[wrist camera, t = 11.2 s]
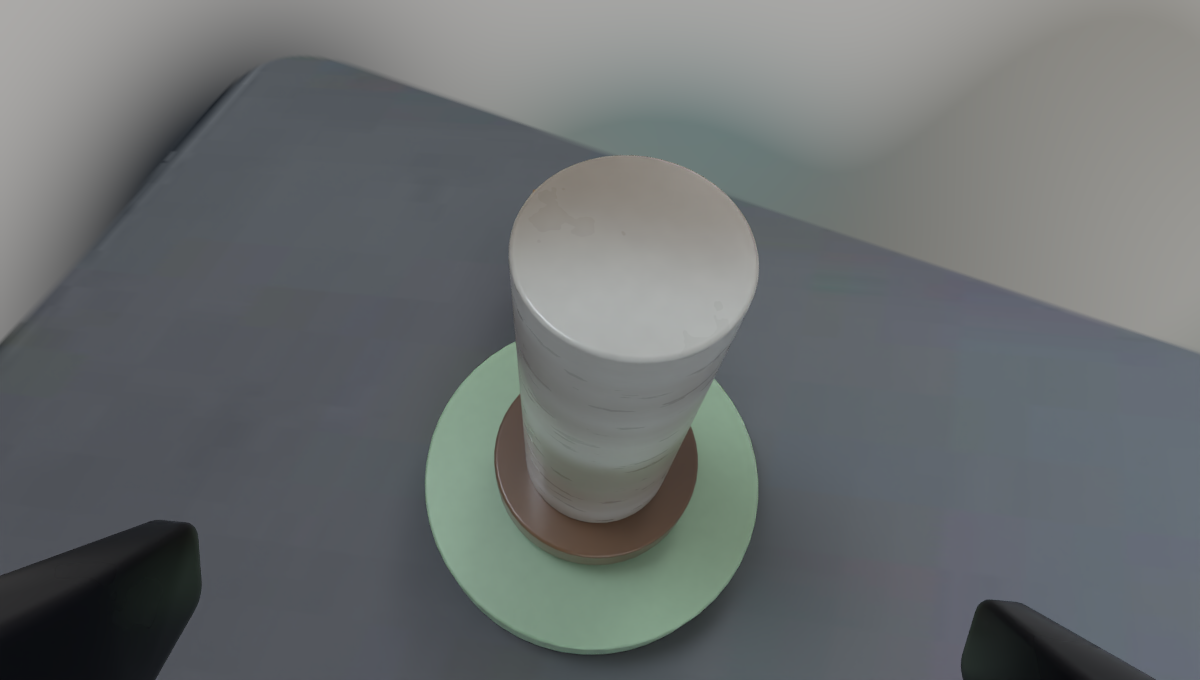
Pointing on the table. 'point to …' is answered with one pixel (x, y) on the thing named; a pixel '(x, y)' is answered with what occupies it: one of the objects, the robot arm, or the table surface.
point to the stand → (570, 590)
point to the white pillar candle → (616, 350)
